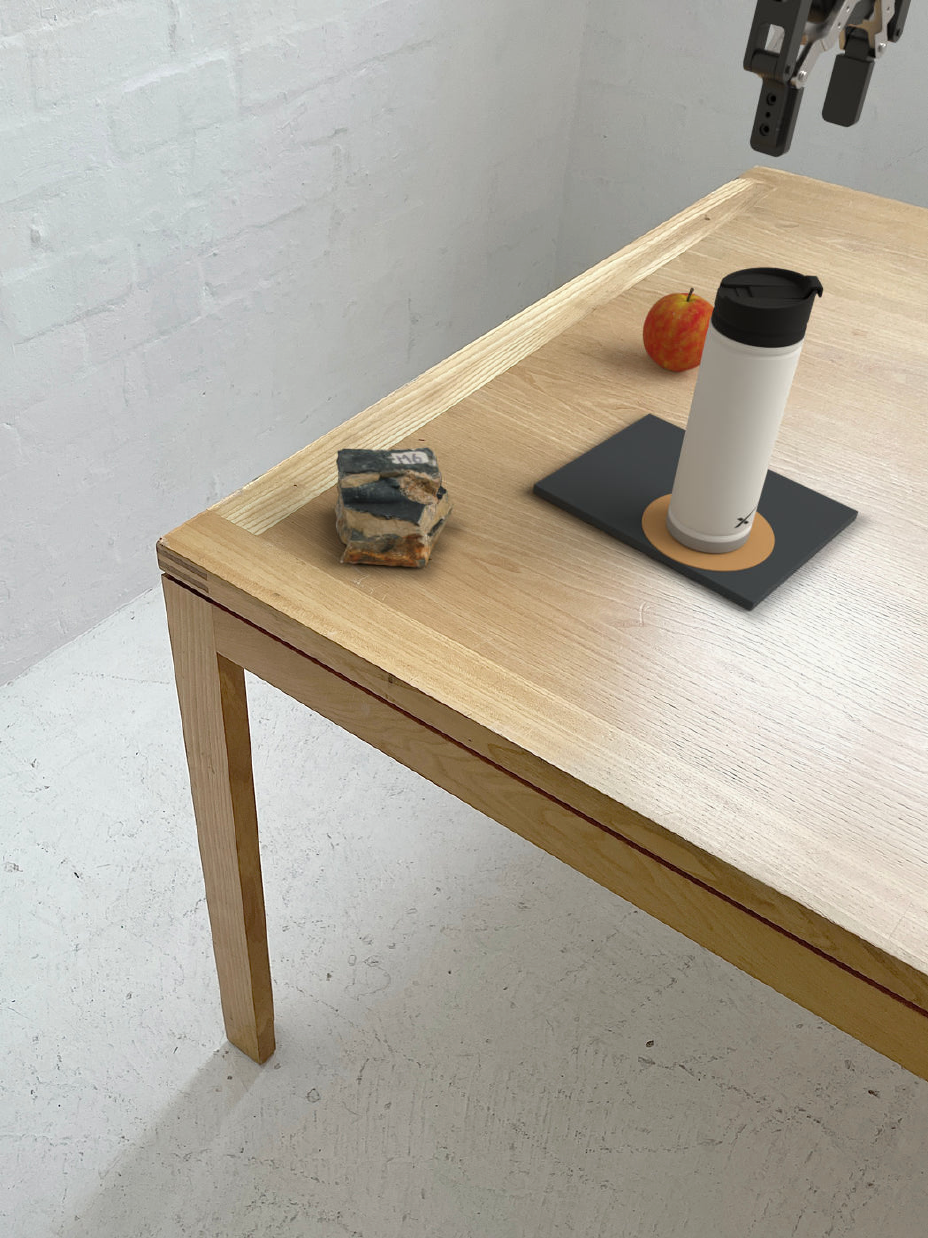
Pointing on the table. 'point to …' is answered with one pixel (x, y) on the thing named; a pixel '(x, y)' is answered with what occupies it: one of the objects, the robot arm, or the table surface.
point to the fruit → (677, 330)
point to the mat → (640, 497)
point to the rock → (390, 505)
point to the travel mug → (738, 405)
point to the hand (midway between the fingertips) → (804, 137)
